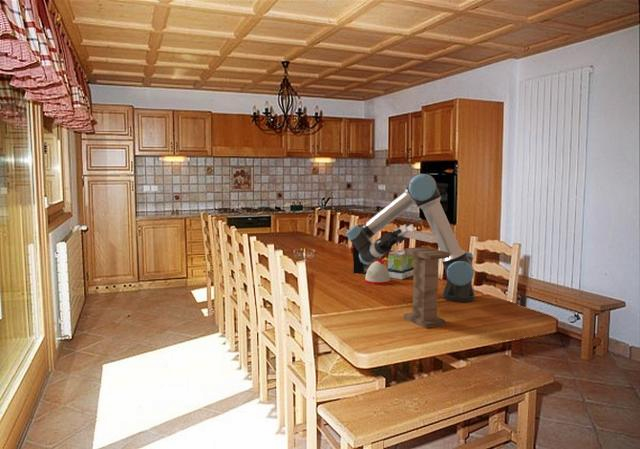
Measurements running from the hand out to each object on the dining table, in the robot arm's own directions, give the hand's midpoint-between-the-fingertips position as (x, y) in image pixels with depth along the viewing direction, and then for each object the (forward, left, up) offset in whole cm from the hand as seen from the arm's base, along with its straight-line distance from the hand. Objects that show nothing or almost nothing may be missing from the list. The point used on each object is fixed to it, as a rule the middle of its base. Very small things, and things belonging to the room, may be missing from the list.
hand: (409, 227), depth 207 cm
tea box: (-7, -74, -39) cm, 83 cm away
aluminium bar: (-2, +3, -4) cm, 6 cm away
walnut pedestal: (-6, +9, -38) cm, 40 cm away
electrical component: (+16, -88, -39) cm, 97 cm away
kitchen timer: (+8, -59, -39) cm, 71 cm away
